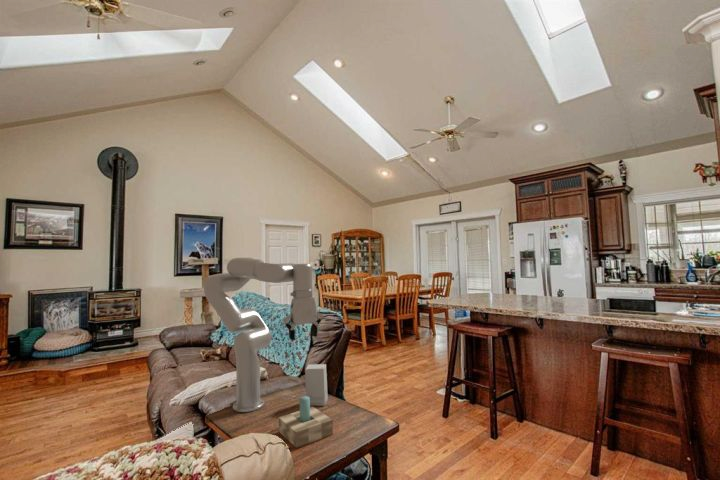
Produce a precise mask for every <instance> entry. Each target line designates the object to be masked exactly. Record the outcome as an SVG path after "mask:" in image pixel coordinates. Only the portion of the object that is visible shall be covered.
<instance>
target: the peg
mask: <svg viewBox="0 0 720 480" xmlns="http://www.w3.org/2000/svg"><path fill="white" fill-rule="evenodd" d="M310 407H311V406H310V397H308V396H306V395H305V396H300V397H299V411H300V422H301V423H304V422H307V421H310Z"/></svg>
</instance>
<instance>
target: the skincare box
mask: <svg viewBox="0 0 720 480" xmlns="http://www.w3.org/2000/svg"><path fill="white" fill-rule="evenodd" d="M304 373H305V374H304V375H305V377H304V378H305V396H308V397H310V407H315V406H321V407H322V406H324V407H325V406H326V404H327V401H328V400H329V399H328V397H329V396H328V378H327V377H328V373H327V364H326V363H325V364H324V363H320V364H319V363H317V364H316V363H315V364H308V365H307V366H306V368H305V370H304Z"/></svg>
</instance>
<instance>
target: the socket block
mask: <svg viewBox="0 0 720 480" xmlns="http://www.w3.org/2000/svg"><path fill="white" fill-rule="evenodd" d="M333 425H334V422H333V418H331V417H329V416H328V415H326V414H325V413H323V412H322V411H320V410H319V409H318V408H316V407H315V406H310V421H307V422H304V423H301V422H300V410H297V411H295V412H292V413H287V414H285V415H282V416H278V433H280V434H281V435H282V436H283V437H284V438H285V439H286V440H287V441H288V442H289V443H290V444H291V445H292V446H294V447H295V448H296V449H297V448H300V447H304V446H306V445H309V444H311V443H314V442H316V441H319V440H321V439H324V438H326V437H329V436H332V435H333V434H334V428H333V427H334V426H333Z"/></svg>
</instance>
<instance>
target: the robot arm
mask: <svg viewBox="0 0 720 480" xmlns="http://www.w3.org/2000/svg"><path fill="white" fill-rule="evenodd" d="M226 270H227V273H226V272H224V273H216V274H212V275H210V276H209V277H207V278H206V280H205V281H204V285H203V292H204V297H205V298H206V300H207V302H208V303H209V304H210V305H211V307H212V308H213V309H214V310H215V312H216V314H217V315H218V317H219V319H220V321H222V323H223V325H224V326H225V329H227V331H228V332H230V333H233V334H235V333H238V334H237V335H236V336H235V337H234V340H233V348H234V349H233V350H234V353H235V363H236V364H235V365H236V401H235V402H234V403H233V404H232V410H233V411H235V412H237V413H238V412H239V413H249V412H253V411H257V410H259V409H261V408H262V407H264V404H265V400H264V399H262V398H261V363H260V359H259V356H258V353H257V351H259V350H262V349H265V348H266V347H268V346H269V345H270V344H271V343H272V333H271V330H270V329H269V327H268V325H267V324H266V323H265V321H264V320H263V318H262V317H261V315H260V314H259V312H258V311H256V309H254V308H250V307H246V308H240V307H239V306H238V305H237V303H236V302H235V300H234V299H233V298H232V297H231V296H229V295H228V294H226V293H229V292H236V291H239V290H241V289H242V288H243V287H244V286H246V284H247V283H248V282H250V281H251V280H256V281H259V282H263V283H264V282H265V283H273V284H280V283H290V282H293V283H292V286H293V287H292V288H293V289H292V292H290V294H289V295H290V297H292V298H291V303H290V311H289V314H288V315H286V316H285V317H283V318H282V319H281V320H282V322H283V324H284V327H286V328H287V329H288V337H289V340H290V341H295V340H296V330H295V327H296V326H299V325H301V326H302V325H306V324H311V337H312V336H313V337H315V338H316V337H318V327H319V325H320V323H321V322H322V320H323V319H322V318H323V316H324V315H323V314H322V313H320V312H319V311H318V310H317V309H318V308H317V303H316V298H315V297H314V296H313V267H312V265H311V264H310V263H291V262H290V263H289V262H288V263H270V262H269V263H268V262H264V260H262V259H255V258H252V257H235V258H232V259H230V260H229V261H228V263H227V264H226ZM289 321H290V323H289ZM239 332H240V333H239Z"/></svg>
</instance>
